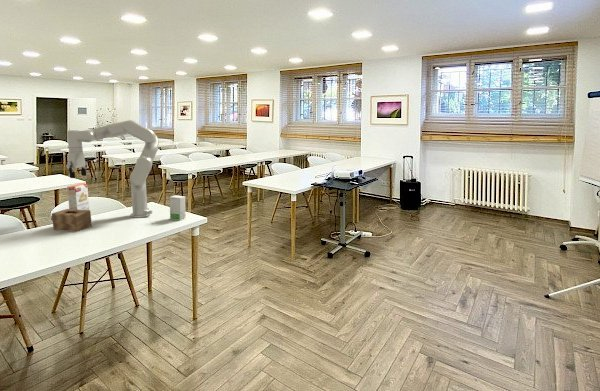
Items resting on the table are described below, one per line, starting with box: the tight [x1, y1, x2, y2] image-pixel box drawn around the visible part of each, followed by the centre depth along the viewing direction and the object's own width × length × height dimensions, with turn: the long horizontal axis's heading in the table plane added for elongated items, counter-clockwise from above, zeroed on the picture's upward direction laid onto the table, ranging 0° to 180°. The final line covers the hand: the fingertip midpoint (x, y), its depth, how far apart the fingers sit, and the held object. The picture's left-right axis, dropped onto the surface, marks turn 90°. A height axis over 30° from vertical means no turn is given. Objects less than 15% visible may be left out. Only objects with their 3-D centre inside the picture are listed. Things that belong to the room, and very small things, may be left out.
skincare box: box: [169, 194, 186, 221], centre depth 250 cm, size 8×7×16 cm
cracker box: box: [66, 182, 90, 210], centre depth 254 cm, size 14×6×21 cm, turn 179°
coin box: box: [51, 208, 93, 233], centre depth 226 cm, size 16×12×10 cm
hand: (78, 176), depth 240 cm, fingers open, 9 cm apart
